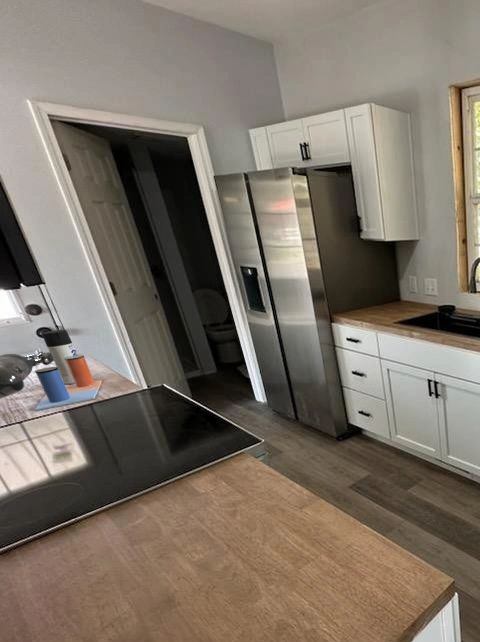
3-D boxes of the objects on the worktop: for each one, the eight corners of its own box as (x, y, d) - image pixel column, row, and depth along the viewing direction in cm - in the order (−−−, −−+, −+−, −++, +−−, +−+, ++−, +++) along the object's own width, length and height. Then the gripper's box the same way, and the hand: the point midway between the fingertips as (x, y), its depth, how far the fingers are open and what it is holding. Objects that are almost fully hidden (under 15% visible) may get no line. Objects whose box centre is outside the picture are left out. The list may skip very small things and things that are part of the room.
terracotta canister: (75, 388, 151) (62, 359, 147) (77, 384, 154) (65, 356, 151) (94, 384, 154) (82, 356, 150) (96, 381, 157) (84, 353, 154)
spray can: (85, 381, 159) (64, 331, 152) (61, 385, 156) (38, 334, 149) (90, 377, 164) (69, 328, 157) (66, 381, 161) (44, 331, 154)
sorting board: (35, 410, 133) (34, 409, 133) (50, 391, 151) (49, 389, 150) (94, 399, 141) (93, 397, 141) (101, 381, 159) (101, 380, 159)
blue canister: (47, 404, 137) (32, 372, 133) (50, 399, 140) (36, 369, 137) (69, 399, 140) (55, 369, 136) (71, 395, 143) (58, 365, 140)
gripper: (39, 352, 116) (50, 341, 128) (-39, 363, 108) (-20, 350, 120) (51, 377, 119) (60, 364, 131) (-25, 389, 110) (-8, 374, 122)
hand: (22, 357), depth 125 cm, fingers open, 8 cm apart
